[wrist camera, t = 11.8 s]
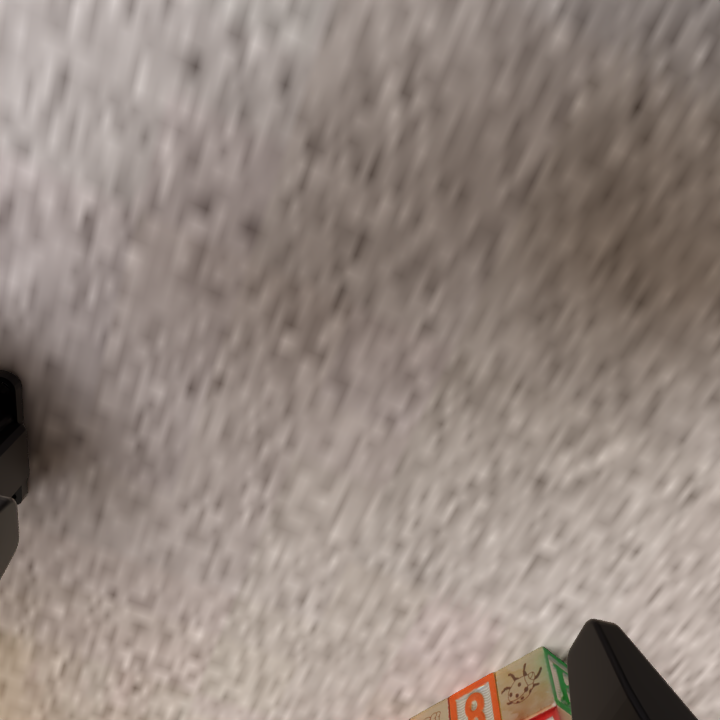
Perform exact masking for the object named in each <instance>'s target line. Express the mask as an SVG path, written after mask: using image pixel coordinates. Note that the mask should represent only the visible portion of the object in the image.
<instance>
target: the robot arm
mask: <svg viewBox="0 0 720 720" xmlns="http://www.w3.org/2000/svg"><path fill="white" fill-rule="evenodd" d="M2 382H3V383H5V384H6V385H7V386H8V387H9V388H7V387H5V386H4V385H3V384H2ZM28 477H29V459H28V441H27V430H26V428H25V426H24V423H23V406H22V388H21V382H20V380H19V379H18V378H17V376H15V375H14V374H12V373H10V372H7V371H2V370H0V579H1V577H2V575H3V574H4V572H5V570H6V568H7V566H8V564H9V563H10V561H11V559H12V557H13V555H14V553H15V551H16V549H17V546H18V542H19V526H18V512H17V505H18V504H20V503H21V502H22V501H23V499H24V498H25V497H26V496H27V478H28ZM567 671H568V683H569V694H570V705H571V716H572V720H698V719H697V718H696V717H695V715H694V714H693V713H692V712H691V711H690V710H689V708H688V707H687V706H686V705H685V704H684V703H683V701H682V700H681V699H680V698H679V697H678V695H677V694H676V693H675V692H674V691H673V690H672V688H671V687H670V686H669V685H668V684H667V682H666V681H665V680H664V679H663V678H662V677H661V675H660V674H659V673H658V672H657V671H656V669H655V668H654V667H653V666H652V665H651V664H650V662H649V661H648V660H647V659H646V658H645V656H644V655H643V654H642V653H641V652H640V651H639V649H638V648H637V647H636V646H635V645H634V644H633V642H632V641H631V640H630V639H629V638H628V636H627V635H626V634H625V633H624V632H623V631H622V629H621V628H620V627H619V626H617V625H616V624H614V623H611V622H607V621H602V620H597V619H590V620H588V621H587V622H586V623H585V625H584V626H583V628H582V630H581V631H580V633H579V635H578V636H577V638H576V640H575V641H574V643H573V645H572V646H571V648H570V650H569V653H568V658H567Z"/></svg>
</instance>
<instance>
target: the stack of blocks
mask: <svg viewBox="0 0 720 720" xmlns="http://www.w3.org/2000/svg"><path fill="white" fill-rule="evenodd" d="M410 720H572V716H571V705H570V694H569V683H568V671H567V665H566V664H565V663H564V662H563V661H561V660H560V659H559V658H557V657H556V656H555V655H553V654H552V653H551V652H549V651H548V650H547V649H546V648H544V647H540V648H538V649H536V650H534V651H532V652H531V653H529V654H527V655H525V656H524V657H522V658H520V659H518V660H516V661H515V662H513V663H511V664H509V665H507V666H506V667H504V668H502V669H500V670H498V671H497V672H495V673H491V674H489V675H487V676H485V677H483V678H482V679H480V680H478V681H476V682H475V683H473V684H471V685H469V686H468V687H466V688H464V689H462V690H460V691H459V692H457V693H455V694H453V695H452V696H450V697H449V698H447V699H444V700H443V701H441V702H439V703H437V704H435V705H434V706H432V707H430V708H428V709H426V710H425V711H423V712H421V713H419V714H418V715H416V716H414V717H413V718H411V719H410Z"/></svg>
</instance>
